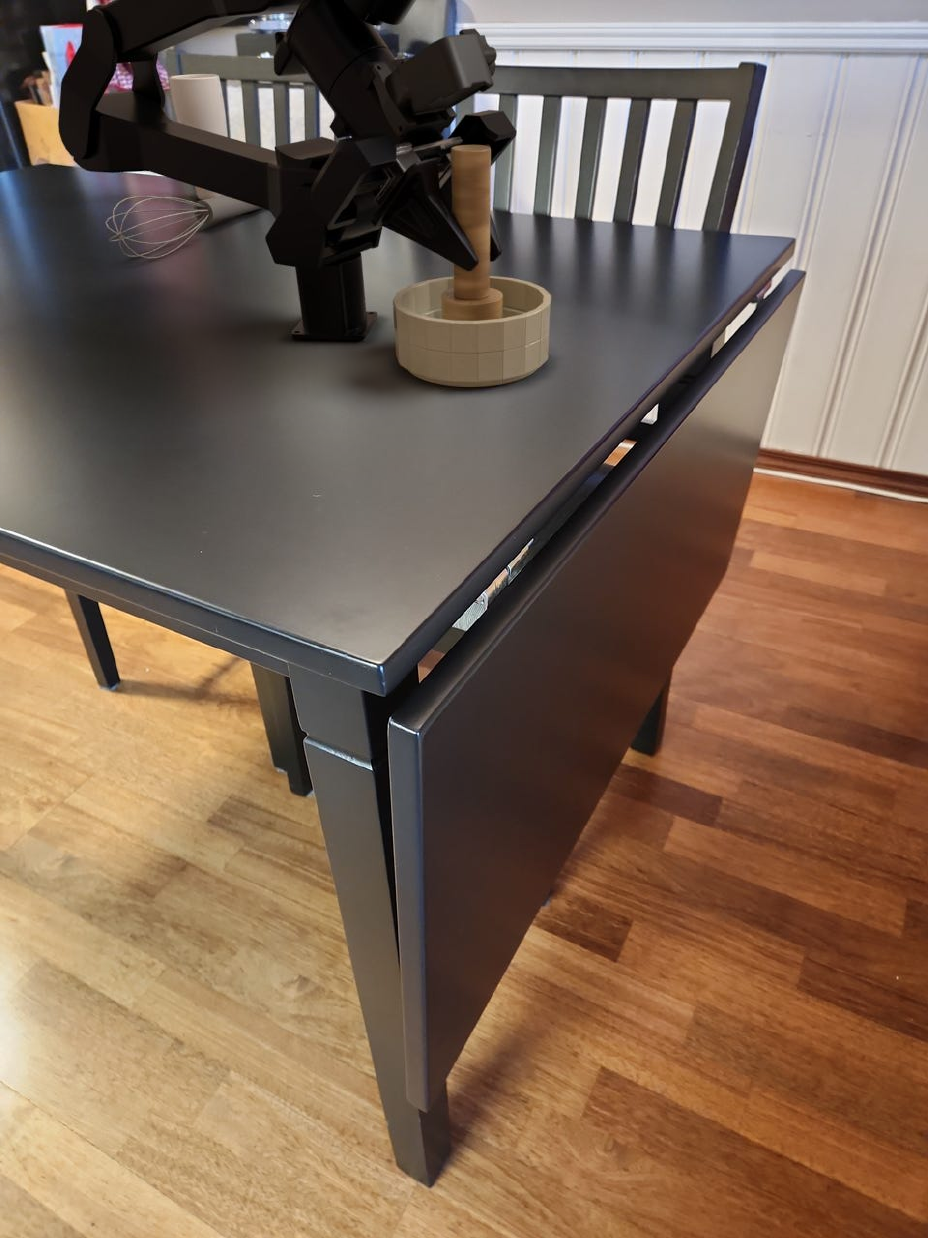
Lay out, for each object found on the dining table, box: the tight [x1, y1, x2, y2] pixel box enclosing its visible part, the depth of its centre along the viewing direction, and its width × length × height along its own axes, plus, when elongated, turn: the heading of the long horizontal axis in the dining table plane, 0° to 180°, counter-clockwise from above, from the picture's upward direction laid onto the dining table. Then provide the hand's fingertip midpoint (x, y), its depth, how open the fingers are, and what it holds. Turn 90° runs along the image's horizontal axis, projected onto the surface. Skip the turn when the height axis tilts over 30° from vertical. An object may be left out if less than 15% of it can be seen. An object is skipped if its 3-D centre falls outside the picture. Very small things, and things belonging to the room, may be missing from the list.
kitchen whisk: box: [105, 195, 263, 259], centre depth 102 cm, size 6×34×6 cm, turn 163°
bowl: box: [392, 275, 552, 388], centre depth 65 cm, size 12×12×5 cm
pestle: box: [441, 145, 503, 321], centre depth 62 cm, size 5×5×14 cm
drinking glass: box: [168, 73, 229, 201], centre depth 116 cm, size 7×7×15 cm
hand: (485, 262), depth 62 cm, fingers closed on pestle, 3 cm apart
